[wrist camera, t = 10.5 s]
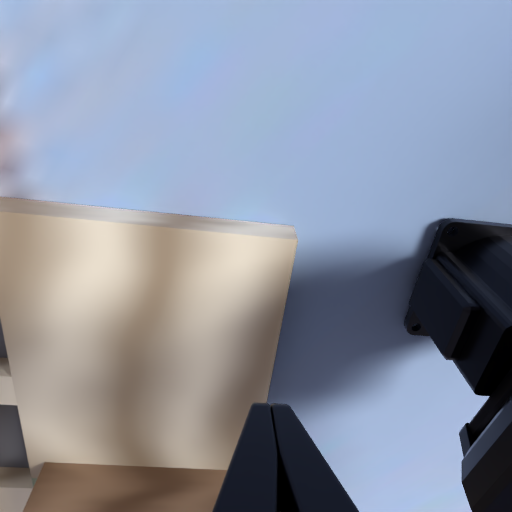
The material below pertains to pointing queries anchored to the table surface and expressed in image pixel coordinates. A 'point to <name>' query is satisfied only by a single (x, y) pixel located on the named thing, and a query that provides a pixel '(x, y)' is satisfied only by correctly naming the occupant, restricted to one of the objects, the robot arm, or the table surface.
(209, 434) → the trap deck
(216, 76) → the table surface
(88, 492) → the bar
